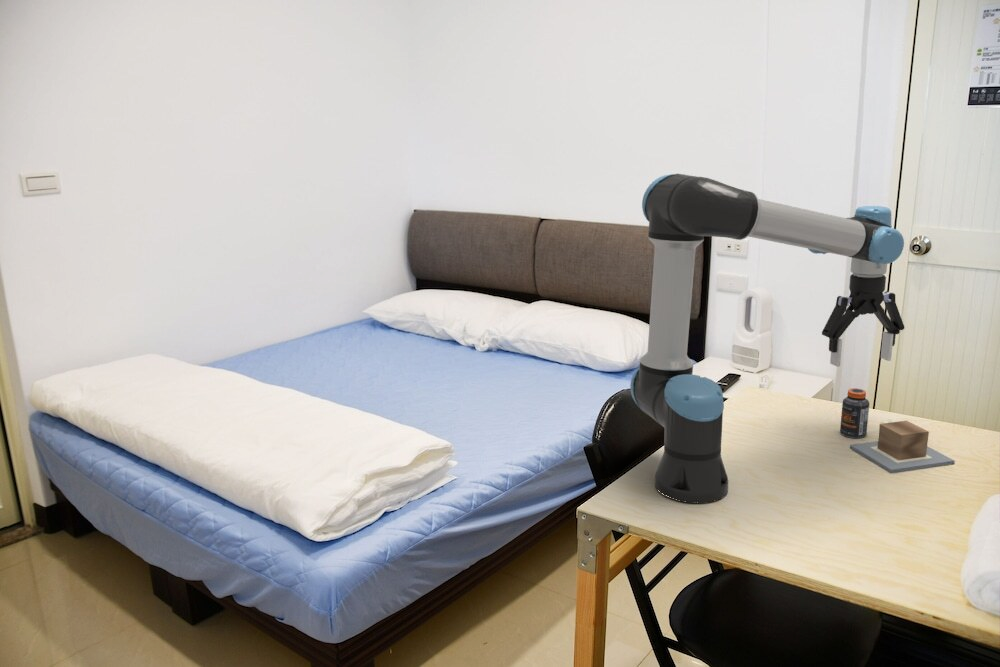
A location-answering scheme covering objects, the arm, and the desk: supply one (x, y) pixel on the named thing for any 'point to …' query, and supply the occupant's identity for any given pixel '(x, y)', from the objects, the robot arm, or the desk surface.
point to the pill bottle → (854, 414)
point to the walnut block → (903, 440)
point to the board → (895, 465)
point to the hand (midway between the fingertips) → (860, 362)
